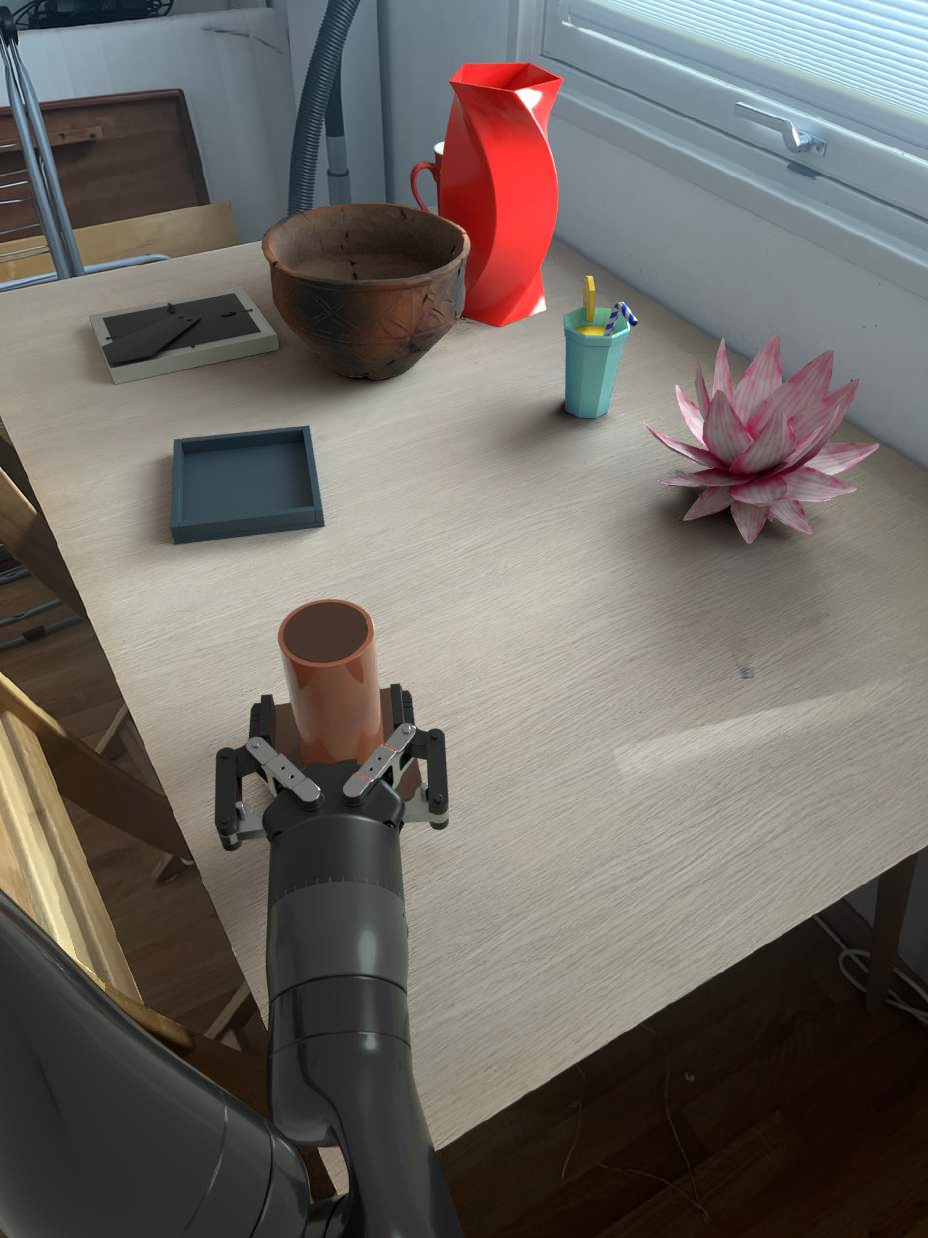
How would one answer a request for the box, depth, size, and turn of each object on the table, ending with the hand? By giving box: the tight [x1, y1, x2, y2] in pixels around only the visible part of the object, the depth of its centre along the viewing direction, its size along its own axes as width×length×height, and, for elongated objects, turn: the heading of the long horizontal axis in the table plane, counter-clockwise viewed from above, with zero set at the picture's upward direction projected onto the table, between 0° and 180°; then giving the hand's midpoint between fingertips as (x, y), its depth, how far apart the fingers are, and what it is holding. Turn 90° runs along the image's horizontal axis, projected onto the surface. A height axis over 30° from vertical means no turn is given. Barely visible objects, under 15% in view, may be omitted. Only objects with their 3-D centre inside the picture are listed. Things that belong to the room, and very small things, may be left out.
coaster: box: [272, 685, 423, 802], centre depth 68 cm, size 11×11×1 cm
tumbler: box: [277, 598, 385, 768], centre depth 63 cm, size 6×6×13 cm
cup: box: [562, 275, 639, 419], centre depth 98 cm, size 14×8×15 cm, turn 20°
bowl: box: [260, 202, 470, 381], centre depth 107 cm, size 25×25×15 cm
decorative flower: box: [643, 333, 880, 544], centre depth 86 cm, size 21×21×15 cm
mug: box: [409, 140, 445, 216], centre depth 135 cm, size 13×9×14 cm
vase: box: [440, 62, 564, 328], centre depth 114 cm, size 15×14×28 cm
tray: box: [169, 424, 326, 545], centre depth 91 cm, size 15×16×2 cm
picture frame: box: [88, 286, 280, 385], centre depth 114 cm, size 16×3×21 cm
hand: (332, 696), depth 59 cm, fingers open, 8 cm apart
